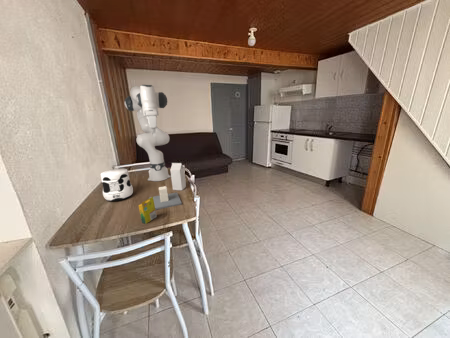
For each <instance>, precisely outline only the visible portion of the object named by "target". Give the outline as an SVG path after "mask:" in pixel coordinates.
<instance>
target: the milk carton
mask: <svg viewBox="0 0 450 338" xmlns="http://www.w3.org/2000/svg"><path fill="white" fill-rule="evenodd" d="M169 170H170V176H171V177H170V179H171V185H172V186H171V187H172V191H184V189H185V188H186V187H187V182H186V175H185V167H184V165H183V164H182V162H171V167H170V169H169Z"/></svg>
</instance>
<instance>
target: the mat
mask: <svg viewBox="0 0 450 338" xmlns="http://www.w3.org/2000/svg"><path fill="white" fill-rule="evenodd" d="M151 197H153V200H154V205H155V210H157V211H158V210H161V209H166V208H167V209H168V208H171V207H176V206H182V200H181V198H180V196H179V194H178V191H177V192H172V193H168V200H169V201H165V202H161V200H160V195H155V196H150V197H148V199H149V198H151Z"/></svg>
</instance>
